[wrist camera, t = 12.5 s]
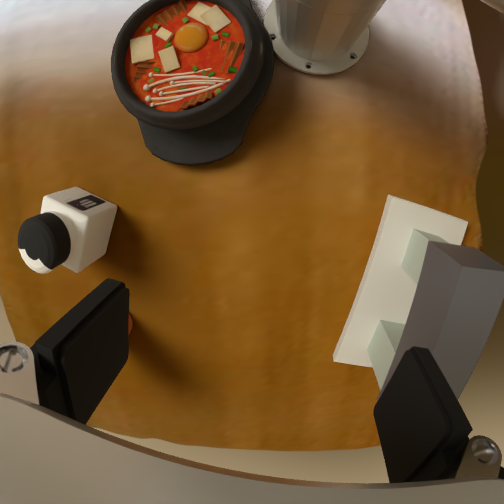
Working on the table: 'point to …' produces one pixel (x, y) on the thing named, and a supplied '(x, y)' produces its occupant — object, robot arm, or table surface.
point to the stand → (392, 282)
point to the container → (67, 231)
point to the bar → (452, 310)
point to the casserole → (192, 75)
